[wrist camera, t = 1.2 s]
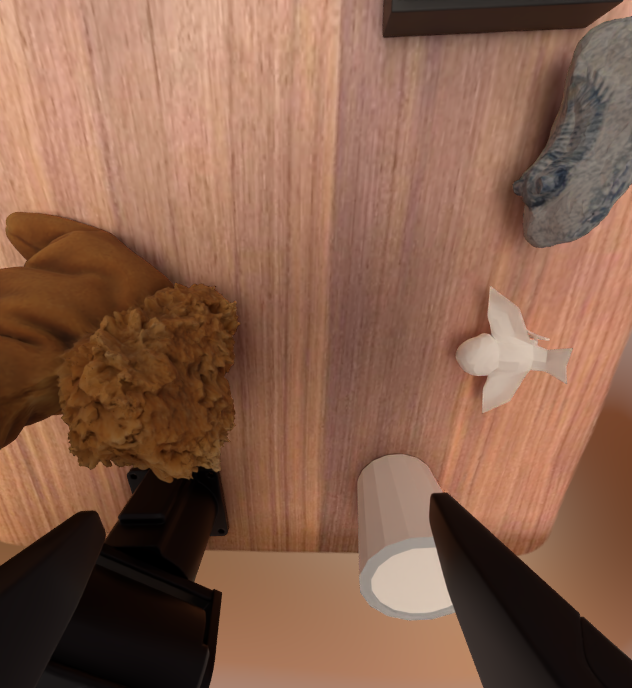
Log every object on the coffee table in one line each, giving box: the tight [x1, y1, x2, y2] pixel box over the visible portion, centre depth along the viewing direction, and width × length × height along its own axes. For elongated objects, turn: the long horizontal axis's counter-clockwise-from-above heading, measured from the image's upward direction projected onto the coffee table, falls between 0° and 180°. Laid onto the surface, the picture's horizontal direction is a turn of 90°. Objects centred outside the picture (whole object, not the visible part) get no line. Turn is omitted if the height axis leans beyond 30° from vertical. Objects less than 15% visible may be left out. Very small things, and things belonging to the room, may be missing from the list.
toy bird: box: [455, 286, 573, 413], centre depth 18 cm, size 8×5×5 cm, turn 7°
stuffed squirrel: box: [0, 212, 241, 483], centre depth 14 cm, size 10×14×13 cm
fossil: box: [512, 16, 632, 248], centre depth 14 cm, size 8×4×5 cm, turn 176°
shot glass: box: [357, 454, 455, 620], centre depth 21 cm, size 7×7×7 cm
